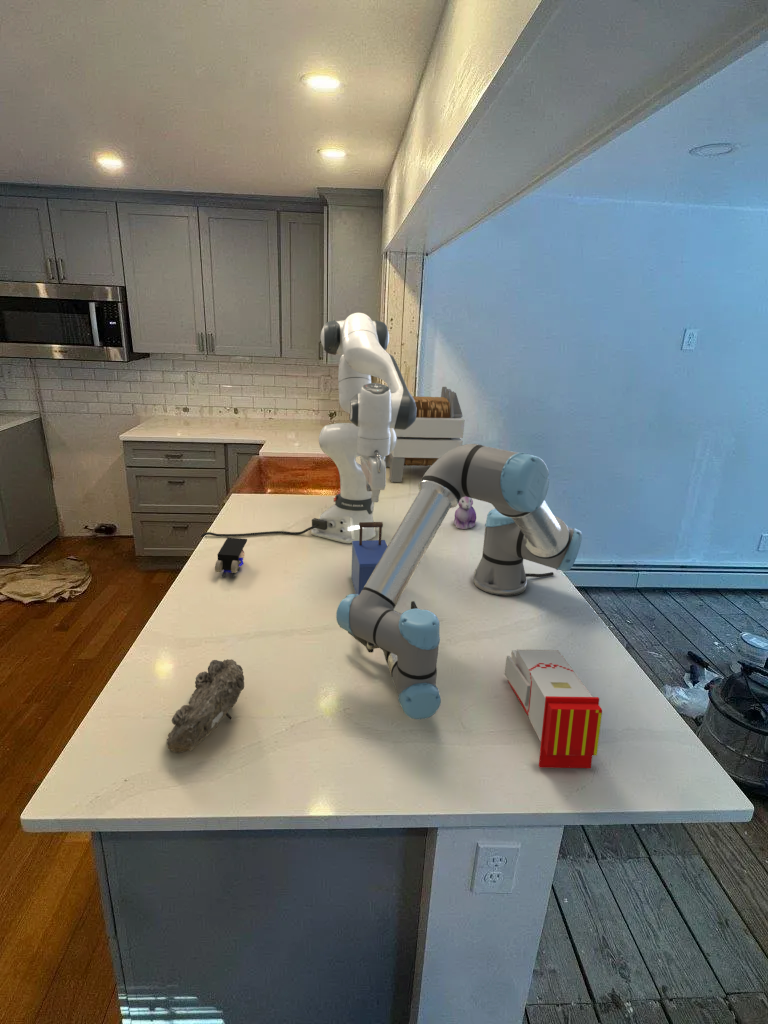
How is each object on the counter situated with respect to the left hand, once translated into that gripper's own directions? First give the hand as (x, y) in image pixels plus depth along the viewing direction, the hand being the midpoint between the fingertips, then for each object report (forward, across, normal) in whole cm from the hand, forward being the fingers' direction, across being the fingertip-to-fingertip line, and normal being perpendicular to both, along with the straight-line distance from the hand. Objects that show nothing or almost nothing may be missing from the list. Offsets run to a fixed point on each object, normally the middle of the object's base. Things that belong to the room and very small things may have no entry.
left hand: (372, 496), depth 155 cm
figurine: (+26, +42, -42) cm, 65 cm away
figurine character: (+26, +11, +39) cm, 48 cm away
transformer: (+26, +112, -42) cm, 122 cm away
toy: (+26, -61, -25) cm, 71 cm away
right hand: (+20, -26, 0) cm, 33 cm away
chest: (+26, -5, 0) cm, 27 cm away
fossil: (+26, -54, +38) cm, 71 cm away
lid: (+15, -5, 0) cm, 16 cm away
